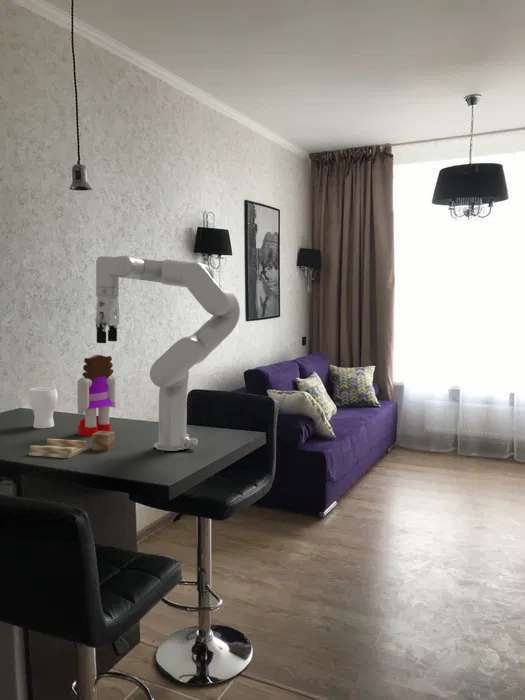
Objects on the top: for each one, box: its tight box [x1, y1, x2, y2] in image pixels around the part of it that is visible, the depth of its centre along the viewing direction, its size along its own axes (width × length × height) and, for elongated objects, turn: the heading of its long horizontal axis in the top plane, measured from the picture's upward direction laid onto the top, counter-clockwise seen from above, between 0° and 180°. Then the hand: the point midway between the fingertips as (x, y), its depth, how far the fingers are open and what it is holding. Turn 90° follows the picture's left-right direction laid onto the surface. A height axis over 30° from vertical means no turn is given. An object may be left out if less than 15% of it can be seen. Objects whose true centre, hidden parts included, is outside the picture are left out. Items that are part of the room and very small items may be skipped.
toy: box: [76, 353, 116, 437], centre depth 215 cm, size 18×9×30 cm, turn 149°
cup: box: [28, 386, 59, 429], centre depth 224 cm, size 11×11×15 cm
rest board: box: [28, 438, 88, 459], centre depth 187 cm, size 14×12×3 cm
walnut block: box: [91, 430, 116, 452], centre depth 193 cm, size 6×6×6 cm
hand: (107, 342), depth 197 cm, fingers open, 9 cm apart
